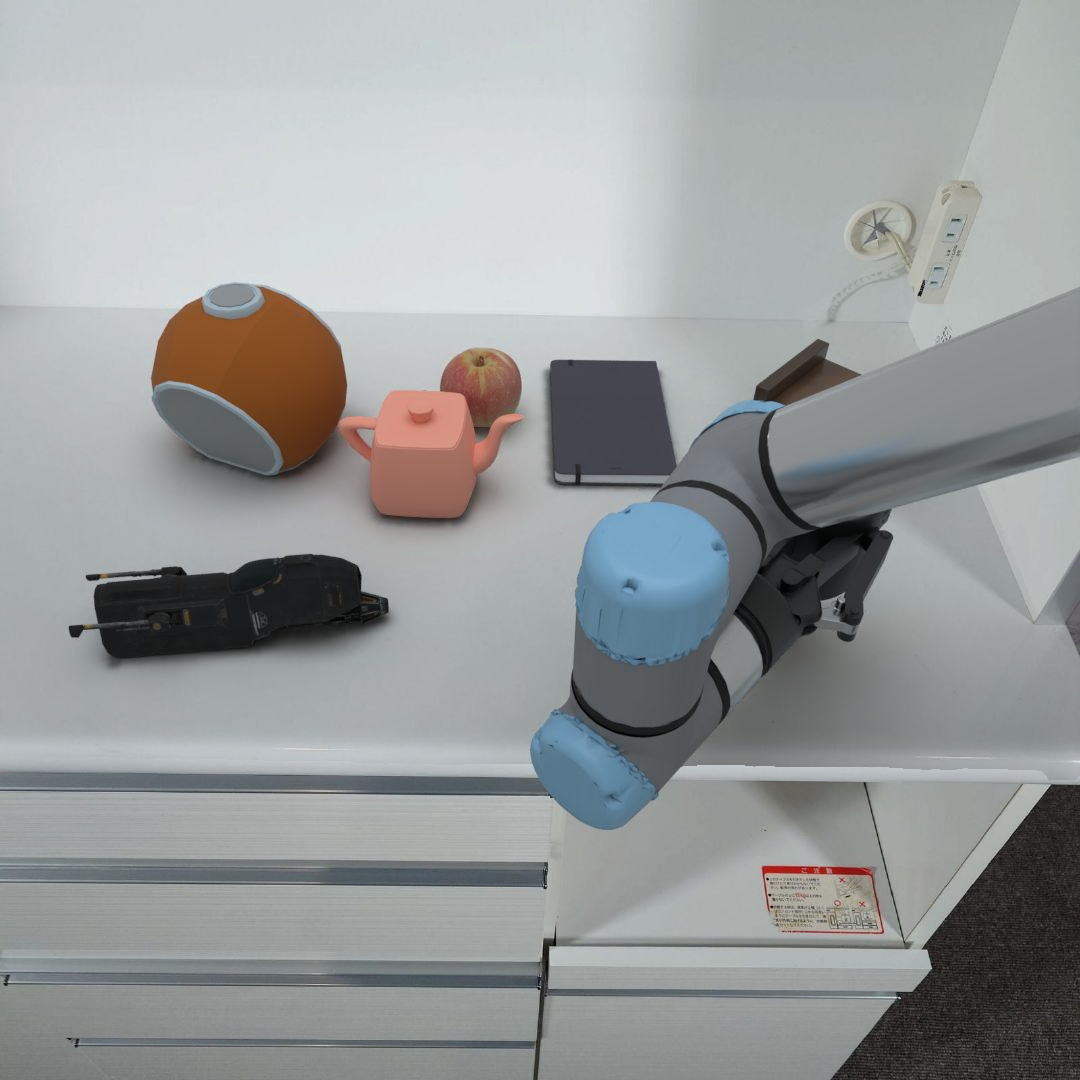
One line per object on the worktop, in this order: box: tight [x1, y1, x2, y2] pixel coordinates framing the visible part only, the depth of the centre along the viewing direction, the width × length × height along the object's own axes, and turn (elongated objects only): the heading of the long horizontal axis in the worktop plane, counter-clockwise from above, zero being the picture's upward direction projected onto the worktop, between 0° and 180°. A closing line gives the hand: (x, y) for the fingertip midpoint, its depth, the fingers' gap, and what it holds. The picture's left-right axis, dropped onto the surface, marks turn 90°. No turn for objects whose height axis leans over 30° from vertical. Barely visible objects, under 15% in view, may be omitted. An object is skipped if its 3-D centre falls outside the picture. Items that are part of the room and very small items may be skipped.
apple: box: [439, 347, 523, 428], centre depth 101 cm, size 9×9×8 cm
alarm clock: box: [150, 281, 348, 476], centre depth 94 cm, size 19×18×17 cm
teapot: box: [337, 389, 524, 519], centre depth 91 cm, size 12×18×10 cm, turn 88°
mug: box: [789, 511, 885, 602], centre depth 73 cm, size 9×12×9 cm
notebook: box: [549, 359, 678, 487], centre depth 103 cm, size 13×2×21 cm
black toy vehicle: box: [68, 553, 390, 659], centre depth 78 cm, size 7×25×8 cm, turn 96°
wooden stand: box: [752, 338, 863, 406], centre depth 100 cm, size 15×13×7 cm
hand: (881, 476), depth 74 cm, fingers closed on mug, 2 cm apart
